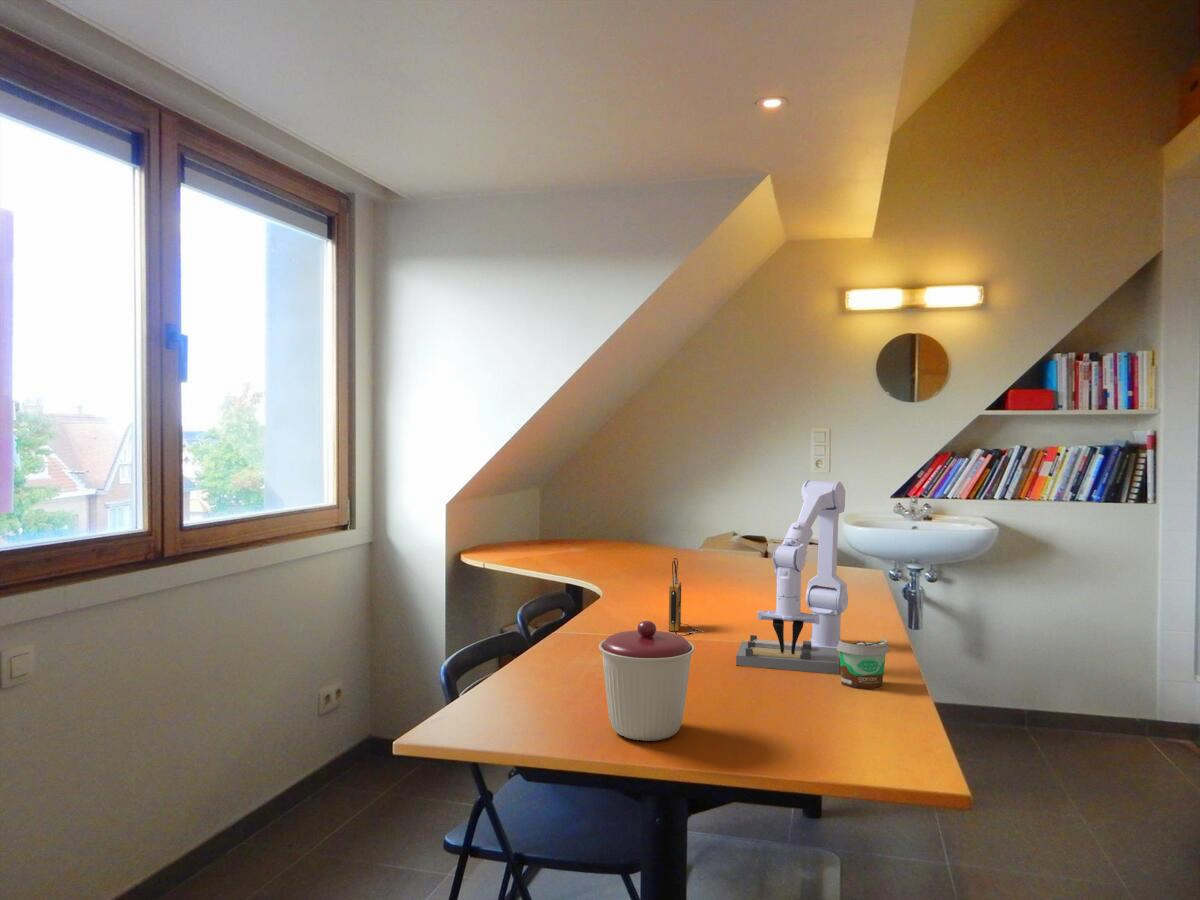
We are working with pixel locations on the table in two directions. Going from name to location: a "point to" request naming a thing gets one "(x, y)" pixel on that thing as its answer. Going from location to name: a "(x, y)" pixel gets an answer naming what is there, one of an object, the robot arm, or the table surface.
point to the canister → (646, 681)
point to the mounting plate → (809, 659)
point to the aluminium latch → (775, 644)
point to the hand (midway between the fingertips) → (787, 651)
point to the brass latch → (776, 653)
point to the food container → (862, 664)
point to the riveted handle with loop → (675, 603)
